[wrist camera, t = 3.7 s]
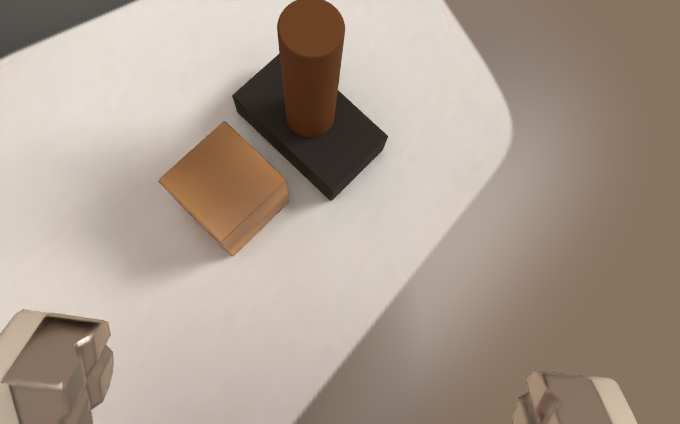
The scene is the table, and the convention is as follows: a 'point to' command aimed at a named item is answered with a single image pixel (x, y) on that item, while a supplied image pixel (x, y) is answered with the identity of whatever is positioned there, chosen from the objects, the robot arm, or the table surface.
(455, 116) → the table surface
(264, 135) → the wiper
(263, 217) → the cork block
